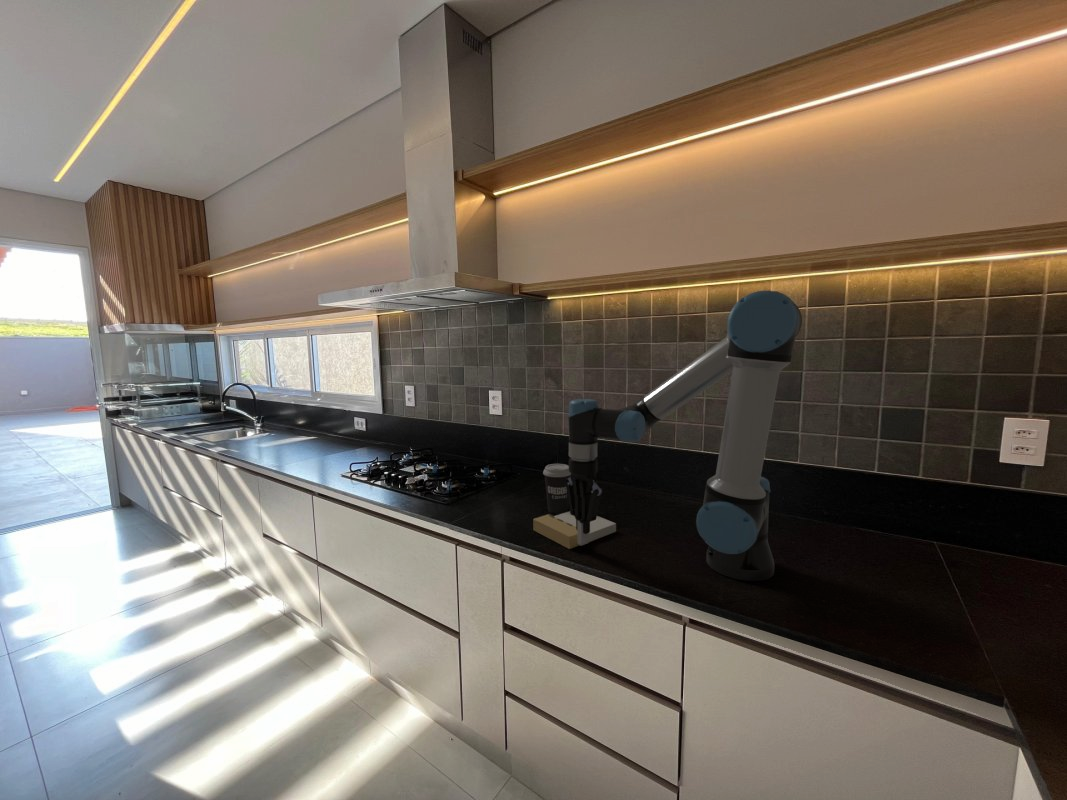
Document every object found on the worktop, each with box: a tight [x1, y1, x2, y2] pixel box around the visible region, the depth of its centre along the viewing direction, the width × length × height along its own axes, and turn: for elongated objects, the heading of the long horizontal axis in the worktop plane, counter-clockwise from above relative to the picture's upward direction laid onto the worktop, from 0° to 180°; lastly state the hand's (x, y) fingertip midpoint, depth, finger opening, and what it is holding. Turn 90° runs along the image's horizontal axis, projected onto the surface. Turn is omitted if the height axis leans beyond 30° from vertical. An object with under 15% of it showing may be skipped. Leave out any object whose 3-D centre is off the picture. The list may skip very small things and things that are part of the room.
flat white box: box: [553, 510, 617, 543], centre depth 131 cm, size 16×12×3 cm
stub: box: [532, 513, 580, 550], centre depth 125 cm, size 16×6×4 cm, turn 38°
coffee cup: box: [542, 463, 571, 515], centre depth 146 cm, size 10×10×15 cm
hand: (583, 543), depth 117 cm, fingers closed
